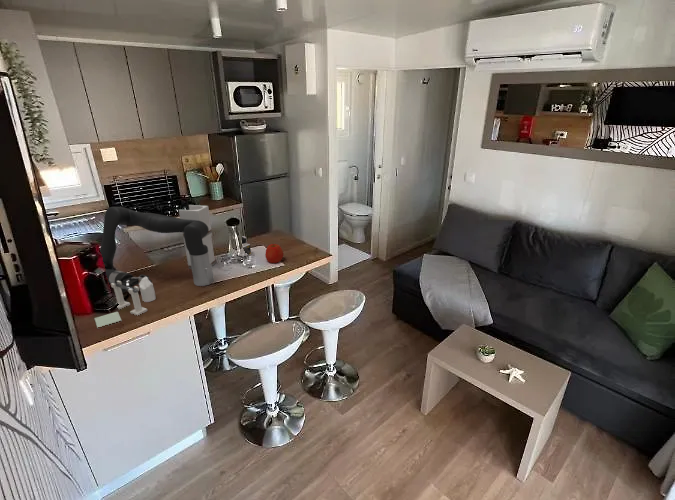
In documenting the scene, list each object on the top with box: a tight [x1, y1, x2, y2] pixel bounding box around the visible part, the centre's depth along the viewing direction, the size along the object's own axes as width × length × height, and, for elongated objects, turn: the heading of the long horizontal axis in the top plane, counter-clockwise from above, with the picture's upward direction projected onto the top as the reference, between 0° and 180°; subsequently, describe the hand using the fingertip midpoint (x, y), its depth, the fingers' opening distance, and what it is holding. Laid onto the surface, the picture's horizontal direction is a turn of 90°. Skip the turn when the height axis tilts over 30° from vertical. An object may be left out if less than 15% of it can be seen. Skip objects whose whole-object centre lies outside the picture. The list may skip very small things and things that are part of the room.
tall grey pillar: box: [178, 204, 217, 270], centre depth 203 cm, size 11×11×35 cm
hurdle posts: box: [110, 281, 148, 317], centre depth 163 cm, size 17×5×12 cm, turn 64°
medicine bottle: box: [242, 236, 252, 255], centre depth 222 cm, size 7×7×12 cm
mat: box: [94, 311, 123, 329], centre depth 156 cm, size 9×9×1 cm
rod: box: [114, 283, 139, 293], centre depth 161 cm, size 16×1×1 cm, turn 64°
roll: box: [138, 277, 157, 303], centre depth 171 cm, size 6×12×6 cm
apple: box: [264, 243, 284, 264], centre depth 215 cm, size 11×11×11 cm
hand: (143, 286), depth 172 cm, fingers open, 8 cm apart
